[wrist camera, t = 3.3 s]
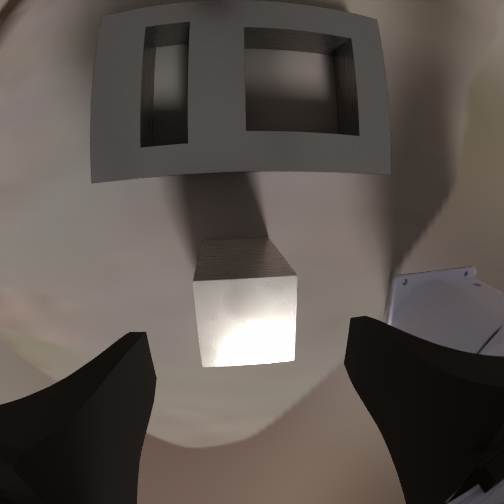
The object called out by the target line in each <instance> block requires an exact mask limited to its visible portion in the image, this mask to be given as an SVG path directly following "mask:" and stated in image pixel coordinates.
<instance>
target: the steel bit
mask: <svg viewBox="0 0 504 504" xmlns="http://www.w3.org/2000/svg"><path fill="white" fill-rule="evenodd" d="M193 290H194V300H195V309H196V319H197V327H198V336H199V344H200V352H201V359H202V367H215V366H234V365H249V364H261V363H272V362H282V361H291V360H294V348H295V329H296V306H297V274H296V273H295V271H294V270H293V269H292V268H291V266H290V265H289V264H288V262H287V261H286V260H285V258H284V257H283V256H282V254H281V253H280V252H279V250H278V249H277V248H276V246H275V245H274V244H273V243H272V241H271V240H270V239H269V238H248V239H226V240H206V241H202V245H201V249H200V253H199V257H198V261H197V265H196V270H195V274H194V278H193Z"/></svg>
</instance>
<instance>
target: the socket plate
mask: <svg viewBox="0 0 504 504" xmlns="http://www.w3.org/2000/svg"><path fill="white" fill-rule="evenodd" d="M179 44H189V58H188V143H187V144H174V145H162V146H153V97H154V70H155V53H156V47H161V46H170V45H179ZM244 48H256V49H278V50H292V51H303V52H312V53H320V54H327V55H333V59H334V70H335V82H336V97H337V114H338V134H329V133H313V132H290V131H246V108H245V61H244ZM90 161H91V183H100V182H110V181H119V180H128V179H138V178H148V177H160V176H172V175H186V174H203V173H225V172H263V171H304V172H342V173H363V174H384V175H391V140H390V119H389V104H388V93H387V83H386V74H385V66H384V58H383V51H382V45H381V39H380V33H379V28H378V22H377V19H373V18H370V17H366V16H362V15H358V14H353V13H349V12H344V11H340V10H334V9H329V8H323V7H317V6H311V5H303V4H295V3H286V2H275V1H258V0H208V1H192V2H181V3H172V4H164V5H156V6H150V7H144V8H138V9H133V10H128V11H123V12H119V13H114V14H110V15H106V16H102V17H101V22H100V27H99V33H98V40H97V47H96V54H95V63H94V72H93V83H92V98H91V121H90Z"/></svg>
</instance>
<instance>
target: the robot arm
mask: <svg viewBox="0 0 504 504" xmlns="http://www.w3.org/2000/svg"><path fill="white" fill-rule="evenodd" d="M475 275H476V268H475V267H473V266H469V267H461V268H453V269H446V270H437V271H429V272H419V273H410V274H401V275H396V276H395V277H394V278H393V281H392V287H391V294H390V300H389V307H388V313H387V318H386V323H384V322H381V321H379V320H376V319H374V318H371V317H368V316H361V317H354V318H351V319H350V327H349V334H348V341H347V348H346V354H345V360H344V365H345V367H346V370H347V373H348V375H349V378H350V380H351V382H352V384H353V386H354V388H355V390H356V391H357V393H358V395H359V396H360V398H361V400H362V401H363V403H364V405H365V406H366V408H367V410H368V411H369V413H370V415H371V416H372V418H373V419H374V421H375V423H376V424H377V426H378V428H379V430H380V432H381V434H382V436H383V438H384V440H385V443H386V445H387V447H388V449H389V452H390V454H391V457H392V460H393V463H394V465H395V468H396V471H397V473H398V477H399V480H400V483H401V487H402V490H403V493H404V497H405V501H406V504H504V294H503V293H501V292H499V291H498V290H496V289H494V288H492V287H490V286H488V285H486V284H484V283H482V282H480V281H478V280H476V279H475ZM404 279H405V283H403V280H404ZM156 379H157V378H156V374H155V370H154V366H153V362H152V357H151V353H150V348H149V344H148V339H147V334H146V332H129V333H127V334H126V335H124V336H123V337H122V338H120V339H119V340H118V341H116V342H115V343H114V344H112V345H111V346H110V347H109V348H107V349H106V350H105V351H103V352H102V353H101V354H99V355H98V356H97V357H96V358H94V359H93V360H91V361H90V362H88V363H87V364H86V365H84V366H83V367H81V368H80V369H78V370H77V371H75V372H74V373H72V374H71V375H69V376H68V377H66V378H64V379H62V380H61V381H59V382H57V383H55V384H53V385H51V386H50V387H47V388H45V389H43V390H41V391H38V392H36V393H33V394H31V395H29V396H26V397H24V398H21V399H18V400H15V401H12V402H9V403H5V404H2V405H0V504H137V485H138V472H139V461H140V456H141V450H142V446H143V442H144V438H145V434H146V430H147V426H148V422H149V419H150V415H151V411H152V407H153V403H154V396H155V388H156Z"/></svg>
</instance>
